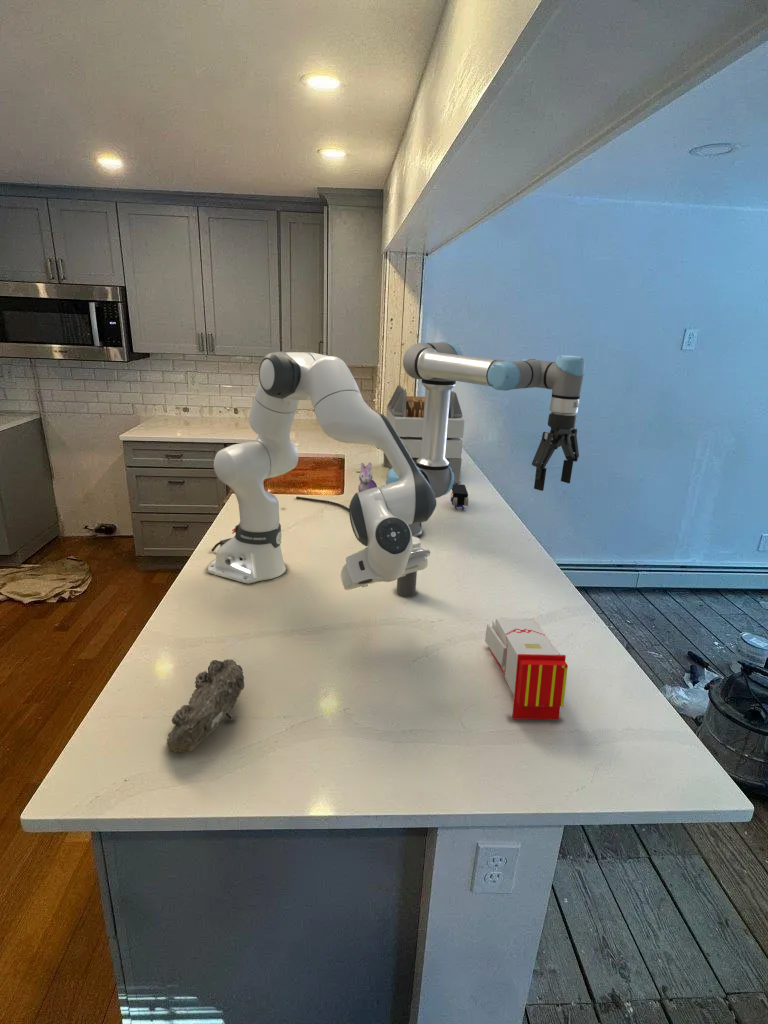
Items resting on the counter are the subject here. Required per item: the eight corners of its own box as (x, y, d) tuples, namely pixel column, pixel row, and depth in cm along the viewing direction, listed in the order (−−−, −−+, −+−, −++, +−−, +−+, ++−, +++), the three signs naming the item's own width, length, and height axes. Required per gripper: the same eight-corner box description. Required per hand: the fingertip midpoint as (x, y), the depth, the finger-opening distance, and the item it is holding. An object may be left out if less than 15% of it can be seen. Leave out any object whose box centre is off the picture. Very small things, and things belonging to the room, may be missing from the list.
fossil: (192, 660, 117) (244, 628, 112) (224, 691, 120) (276, 661, 115) (142, 746, 98) (202, 712, 93) (182, 779, 101) (242, 748, 96)
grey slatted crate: (382, 463, 289) (386, 382, 275) (445, 464, 293) (451, 384, 279) (390, 482, 257) (394, 392, 243) (460, 483, 261) (468, 394, 247)
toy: (531, 603, 136) (576, 661, 106) (526, 655, 139) (569, 725, 109) (481, 602, 135) (512, 660, 106) (477, 654, 138) (507, 724, 109)
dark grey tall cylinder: (395, 595, 157) (398, 544, 152) (398, 586, 162) (400, 537, 157) (414, 597, 156) (417, 546, 151) (416, 588, 161) (419, 539, 156)
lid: (395, 550, 152) (396, 543, 151) (399, 542, 158) (399, 534, 157) (418, 553, 151) (419, 545, 150) (421, 544, 157) (421, 537, 156)
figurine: (362, 503, 229) (363, 467, 224) (351, 495, 238) (352, 460, 232) (383, 500, 233) (384, 465, 228) (372, 493, 242) (373, 459, 237)
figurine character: (468, 514, 225) (463, 498, 239) (470, 497, 222) (465, 482, 235) (451, 514, 225) (447, 498, 238) (453, 497, 222) (449, 481, 235)
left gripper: (427, 535, 127) (419, 555, 140) (338, 558, 123) (338, 577, 136) (436, 561, 125) (427, 579, 137) (346, 585, 121) (345, 602, 134)
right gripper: (548, 419, 148) (537, 496, 155) (598, 411, 163) (586, 482, 171) (525, 414, 153) (515, 489, 160) (575, 407, 169) (564, 476, 176)
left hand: (382, 578), depth 137 cm, fingers open, 8 cm apart
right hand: (552, 485), depth 166 cm, fingers open, 13 cm apart
